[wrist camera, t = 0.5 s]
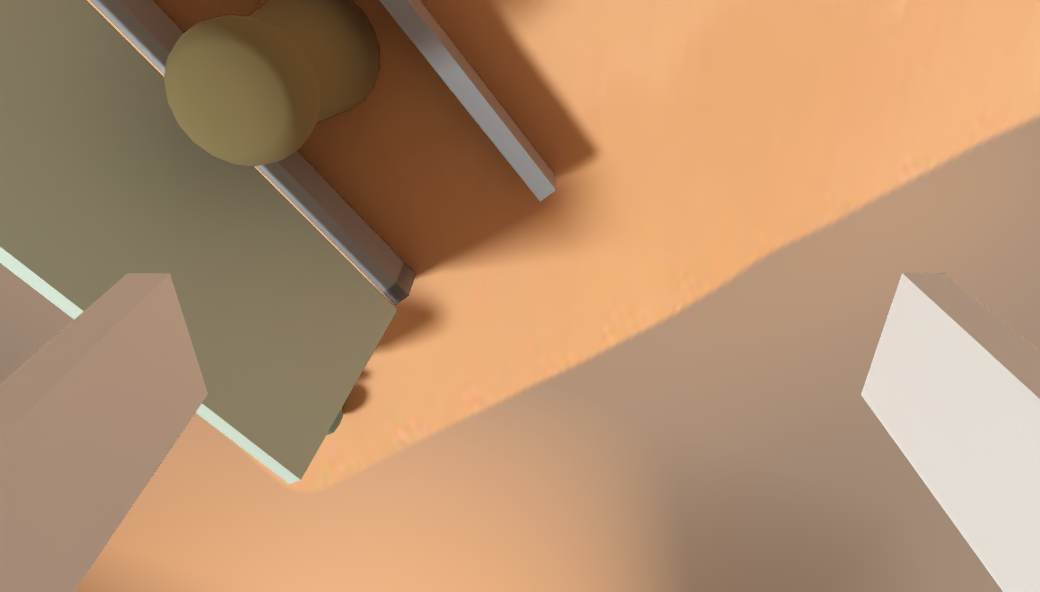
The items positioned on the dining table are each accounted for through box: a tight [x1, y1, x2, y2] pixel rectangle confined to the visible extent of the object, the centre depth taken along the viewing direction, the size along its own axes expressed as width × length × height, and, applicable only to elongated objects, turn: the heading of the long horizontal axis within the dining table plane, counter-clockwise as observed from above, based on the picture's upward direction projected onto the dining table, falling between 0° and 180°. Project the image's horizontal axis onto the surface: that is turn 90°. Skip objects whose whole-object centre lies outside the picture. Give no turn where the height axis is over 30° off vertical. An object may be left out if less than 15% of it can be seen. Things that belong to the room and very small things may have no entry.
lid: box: [0, 0, 397, 484], centre depth 26 cm, size 24×11×1 cm
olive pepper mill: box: [164, 0, 380, 166], centre depth 26 cm, size 6×6×11 cm
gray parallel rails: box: [90, 0, 556, 305], centre depth 30 cm, size 24×11×2 cm, turn 38°
